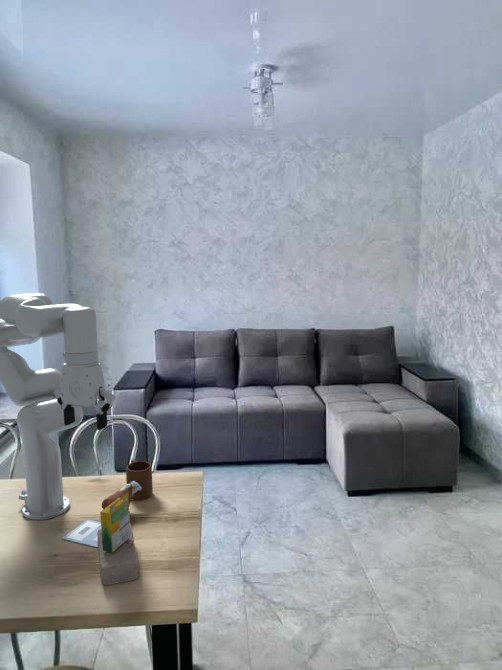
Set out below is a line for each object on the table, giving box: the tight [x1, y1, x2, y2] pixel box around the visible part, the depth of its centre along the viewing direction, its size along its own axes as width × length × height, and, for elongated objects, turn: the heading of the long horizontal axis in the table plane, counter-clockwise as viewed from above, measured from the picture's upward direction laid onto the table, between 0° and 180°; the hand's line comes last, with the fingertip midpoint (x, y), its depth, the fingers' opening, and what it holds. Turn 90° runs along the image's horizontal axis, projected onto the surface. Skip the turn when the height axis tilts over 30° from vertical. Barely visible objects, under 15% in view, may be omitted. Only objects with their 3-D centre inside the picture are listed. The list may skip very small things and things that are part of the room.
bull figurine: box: [101, 481, 142, 514], centre depth 142 cm, size 4×13×8 cm, turn 146°
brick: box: [97, 523, 140, 586], centre depth 120 cm, size 17×8×5 cm, turn 19°
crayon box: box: [100, 493, 131, 553], centre depth 119 cm, size 7×3×12 cm, turn 158°
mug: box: [125, 458, 154, 502], centre depth 155 cm, size 12×8×9 cm, turn 26°
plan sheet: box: [62, 519, 101, 549], centre depth 132 cm, size 14×10×1 cm
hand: (85, 425), depth 125 cm, fingers open, 9 cm apart
